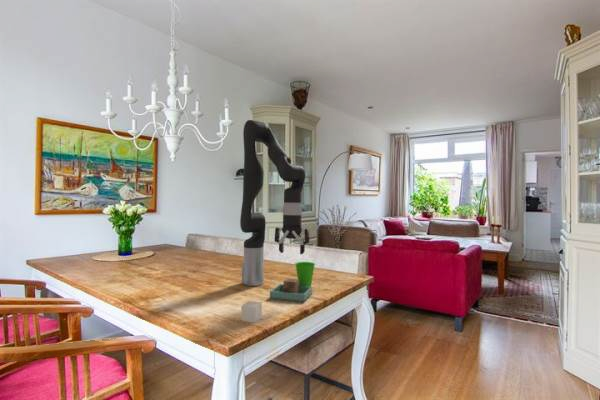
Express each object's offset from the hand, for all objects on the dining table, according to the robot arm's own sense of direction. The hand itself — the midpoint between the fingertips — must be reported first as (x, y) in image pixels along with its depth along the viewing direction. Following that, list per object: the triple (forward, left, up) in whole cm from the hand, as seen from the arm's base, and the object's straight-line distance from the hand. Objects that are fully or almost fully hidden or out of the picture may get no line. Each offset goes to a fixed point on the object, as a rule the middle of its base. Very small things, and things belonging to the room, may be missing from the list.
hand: (291, 253), depth 131 cm
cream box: (-5, -27, -18) cm, 33 cm away
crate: (0, 0, -18) cm, 18 cm away
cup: (+2, +13, -18) cm, 22 cm away
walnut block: (0, 0, -17) cm, 17 cm away
